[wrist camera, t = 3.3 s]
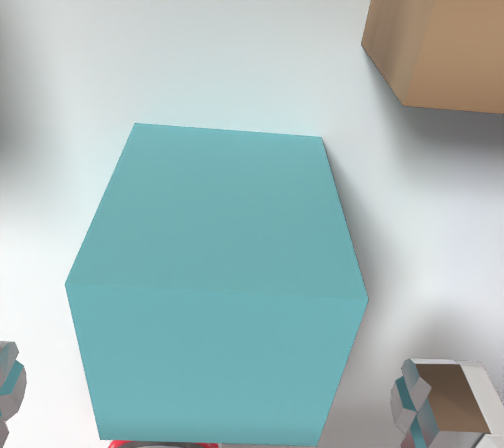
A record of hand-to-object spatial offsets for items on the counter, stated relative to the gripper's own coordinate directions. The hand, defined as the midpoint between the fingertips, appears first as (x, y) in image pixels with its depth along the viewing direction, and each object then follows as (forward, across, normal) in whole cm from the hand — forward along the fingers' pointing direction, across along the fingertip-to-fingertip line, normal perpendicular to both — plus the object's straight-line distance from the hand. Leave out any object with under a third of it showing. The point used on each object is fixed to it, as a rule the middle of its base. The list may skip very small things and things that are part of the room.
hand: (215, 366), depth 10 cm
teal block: (+5, 0, 0) cm, 5 cm away
